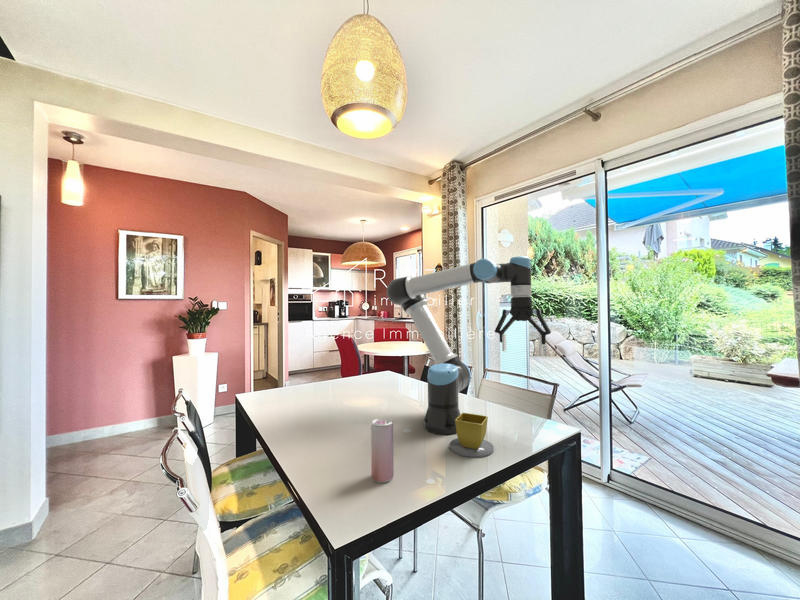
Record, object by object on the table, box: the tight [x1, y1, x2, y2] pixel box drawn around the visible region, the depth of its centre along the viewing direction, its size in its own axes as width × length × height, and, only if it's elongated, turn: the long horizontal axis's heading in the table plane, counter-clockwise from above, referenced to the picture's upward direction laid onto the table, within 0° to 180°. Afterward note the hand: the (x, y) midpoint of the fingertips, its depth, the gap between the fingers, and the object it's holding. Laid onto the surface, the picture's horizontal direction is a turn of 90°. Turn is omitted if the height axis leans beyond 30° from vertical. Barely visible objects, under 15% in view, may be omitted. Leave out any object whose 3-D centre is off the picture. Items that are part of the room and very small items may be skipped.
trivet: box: [449, 437, 495, 459], centre depth 105 cm, size 14×14×1 cm
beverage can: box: [370, 417, 395, 484], centre depth 87 cm, size 6×6×15 cm
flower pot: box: [455, 412, 489, 449], centre depth 105 cm, size 9×9×9 cm
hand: (522, 352), depth 124 cm, fingers open, 13 cm apart
